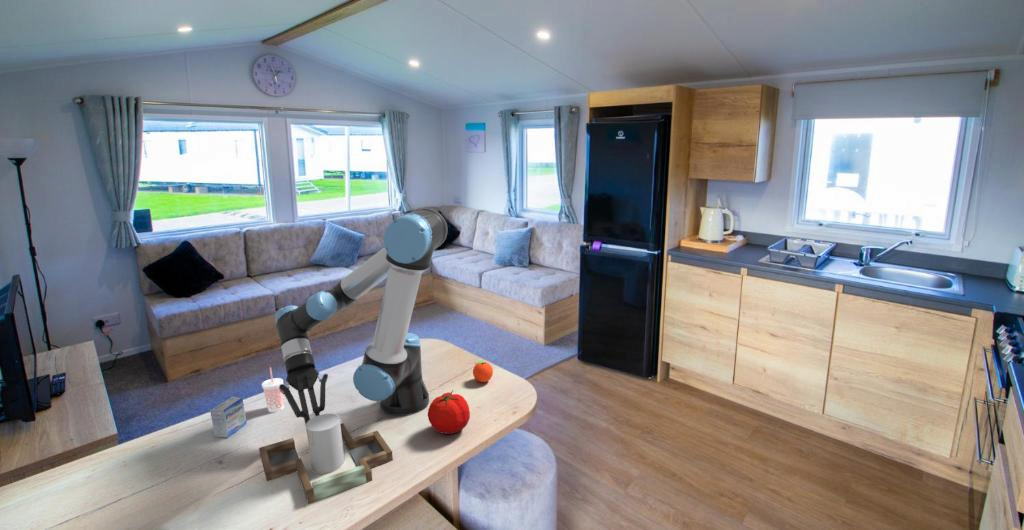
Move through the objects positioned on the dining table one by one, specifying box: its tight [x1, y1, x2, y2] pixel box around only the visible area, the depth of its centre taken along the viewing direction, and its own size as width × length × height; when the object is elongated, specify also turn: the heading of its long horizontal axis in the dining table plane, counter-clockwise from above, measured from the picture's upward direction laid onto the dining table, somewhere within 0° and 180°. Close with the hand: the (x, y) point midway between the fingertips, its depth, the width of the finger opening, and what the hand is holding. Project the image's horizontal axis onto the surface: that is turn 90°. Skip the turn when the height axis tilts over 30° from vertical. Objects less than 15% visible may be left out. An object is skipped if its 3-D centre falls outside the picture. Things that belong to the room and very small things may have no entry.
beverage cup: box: [261, 366, 285, 413], centre depth 159 cm, size 6×6×14 cm
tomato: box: [427, 390, 471, 435], centre depth 145 cm, size 12×12×11 cm
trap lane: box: [258, 422, 394, 504], centre depth 132 cm, size 29×26×4 cm
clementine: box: [472, 360, 494, 383], centre depth 175 cm, size 8×7×7 cm
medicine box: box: [209, 396, 247, 438], centre depth 148 cm, size 8×4×9 cm, turn 168°
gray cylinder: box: [305, 413, 345, 475], centre depth 131 cm, size 8×8×12 cm
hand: (316, 438), depth 135 cm, fingers closed
